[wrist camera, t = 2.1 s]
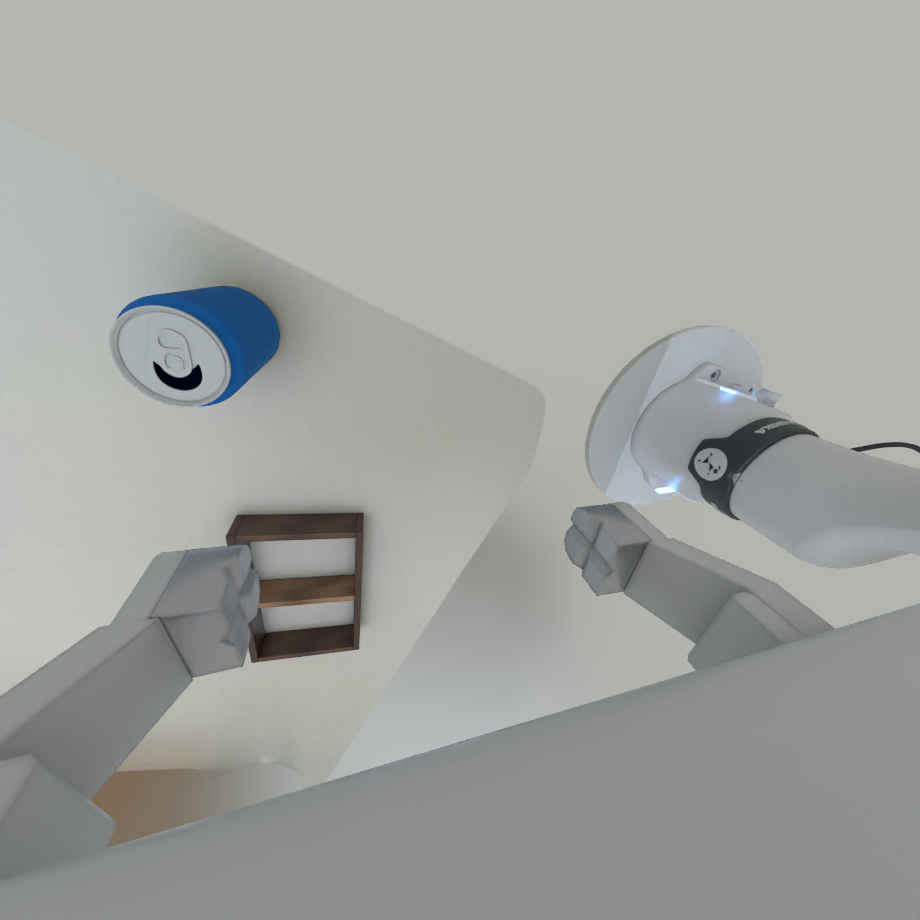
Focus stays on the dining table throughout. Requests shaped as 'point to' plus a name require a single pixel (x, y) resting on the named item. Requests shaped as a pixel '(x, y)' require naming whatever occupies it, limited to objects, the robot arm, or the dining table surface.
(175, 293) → the beverage can
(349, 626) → the tray
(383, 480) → the dining table surface
